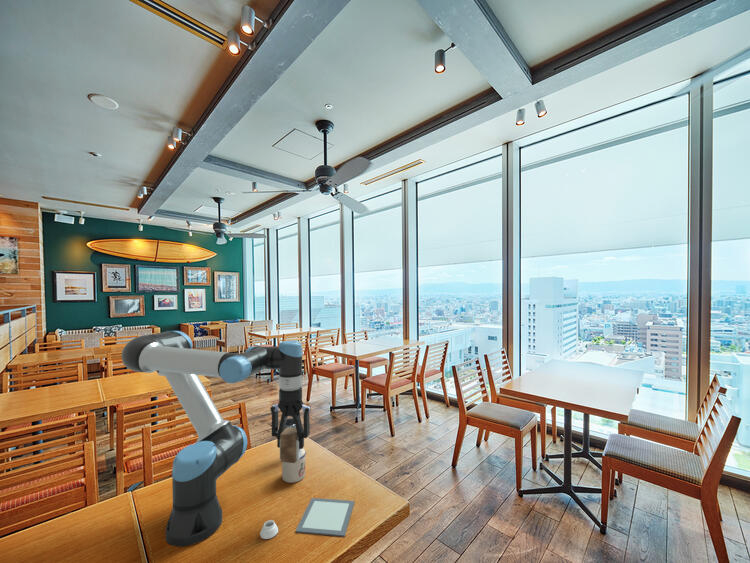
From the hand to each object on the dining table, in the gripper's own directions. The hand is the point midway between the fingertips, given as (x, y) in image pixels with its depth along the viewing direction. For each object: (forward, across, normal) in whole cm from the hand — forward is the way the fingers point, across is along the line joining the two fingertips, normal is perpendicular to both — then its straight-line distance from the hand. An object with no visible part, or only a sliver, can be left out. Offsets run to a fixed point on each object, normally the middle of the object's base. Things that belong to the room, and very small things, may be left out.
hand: (290, 457), depth 106 cm
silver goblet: (+17, -13, +30) cm, 37 cm away
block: (0, 0, 0) cm, 0 cm away
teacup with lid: (+17, -6, +18) cm, 25 cm away
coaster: (+16, +13, -3) cm, 21 cm away
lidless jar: (+17, -2, -12) cm, 20 cm away
